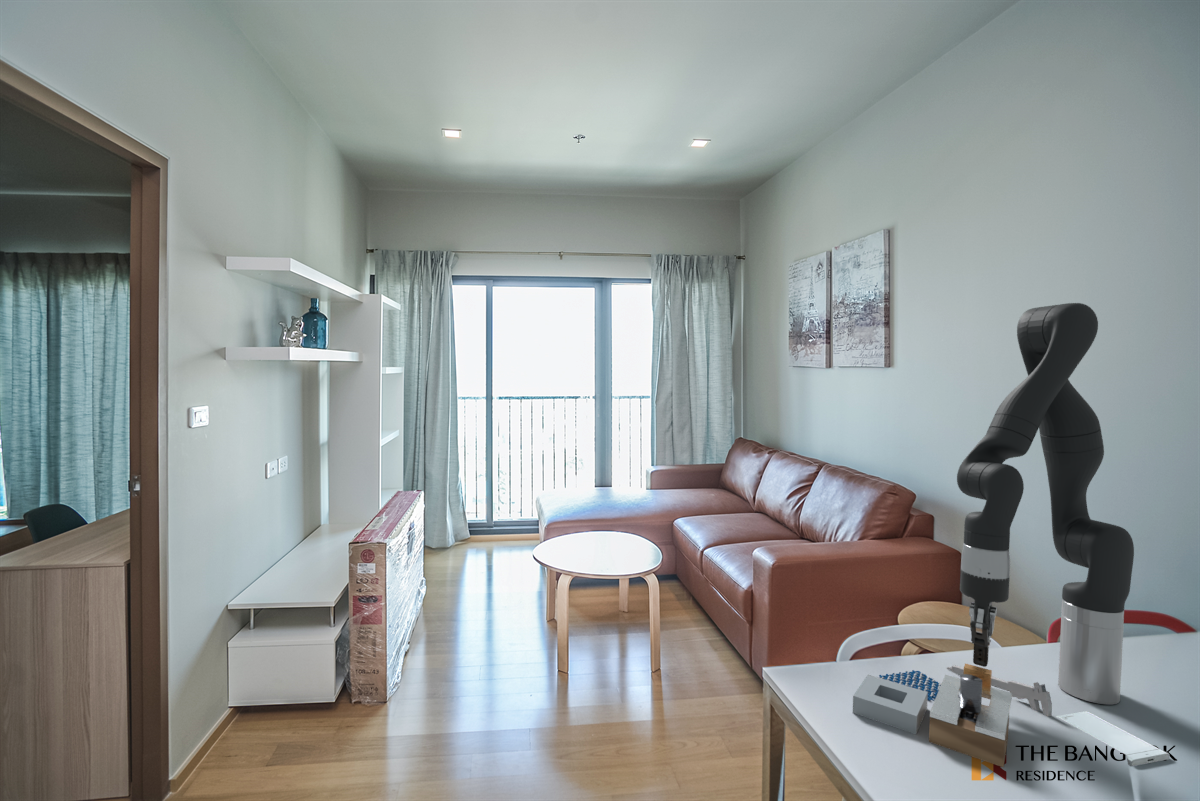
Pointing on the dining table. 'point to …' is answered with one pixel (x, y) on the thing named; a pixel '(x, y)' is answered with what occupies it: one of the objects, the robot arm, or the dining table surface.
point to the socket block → (968, 740)
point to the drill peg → (970, 696)
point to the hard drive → (1116, 738)
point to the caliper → (1021, 691)
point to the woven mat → (916, 682)
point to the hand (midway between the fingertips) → (980, 664)
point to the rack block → (890, 703)
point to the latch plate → (991, 716)
